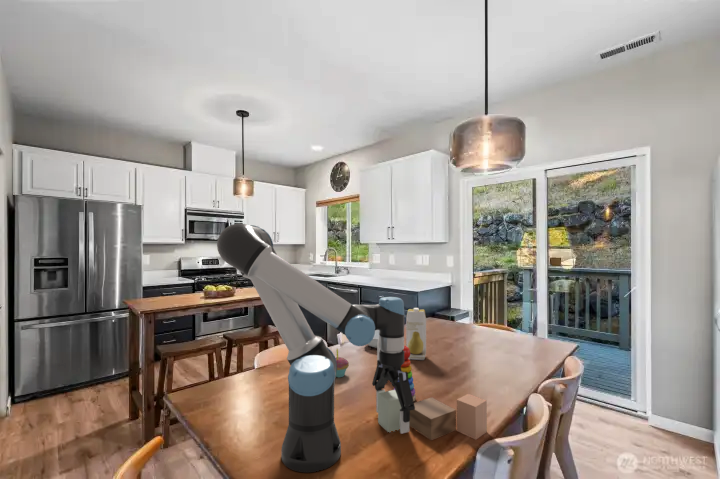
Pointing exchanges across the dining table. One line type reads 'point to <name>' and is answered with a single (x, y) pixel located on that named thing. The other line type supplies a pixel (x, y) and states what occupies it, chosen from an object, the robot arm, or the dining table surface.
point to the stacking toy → (408, 370)
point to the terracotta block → (472, 416)
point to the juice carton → (416, 333)
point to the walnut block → (432, 418)
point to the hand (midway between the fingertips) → (391, 421)
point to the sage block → (389, 410)
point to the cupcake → (341, 366)
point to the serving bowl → (375, 339)
